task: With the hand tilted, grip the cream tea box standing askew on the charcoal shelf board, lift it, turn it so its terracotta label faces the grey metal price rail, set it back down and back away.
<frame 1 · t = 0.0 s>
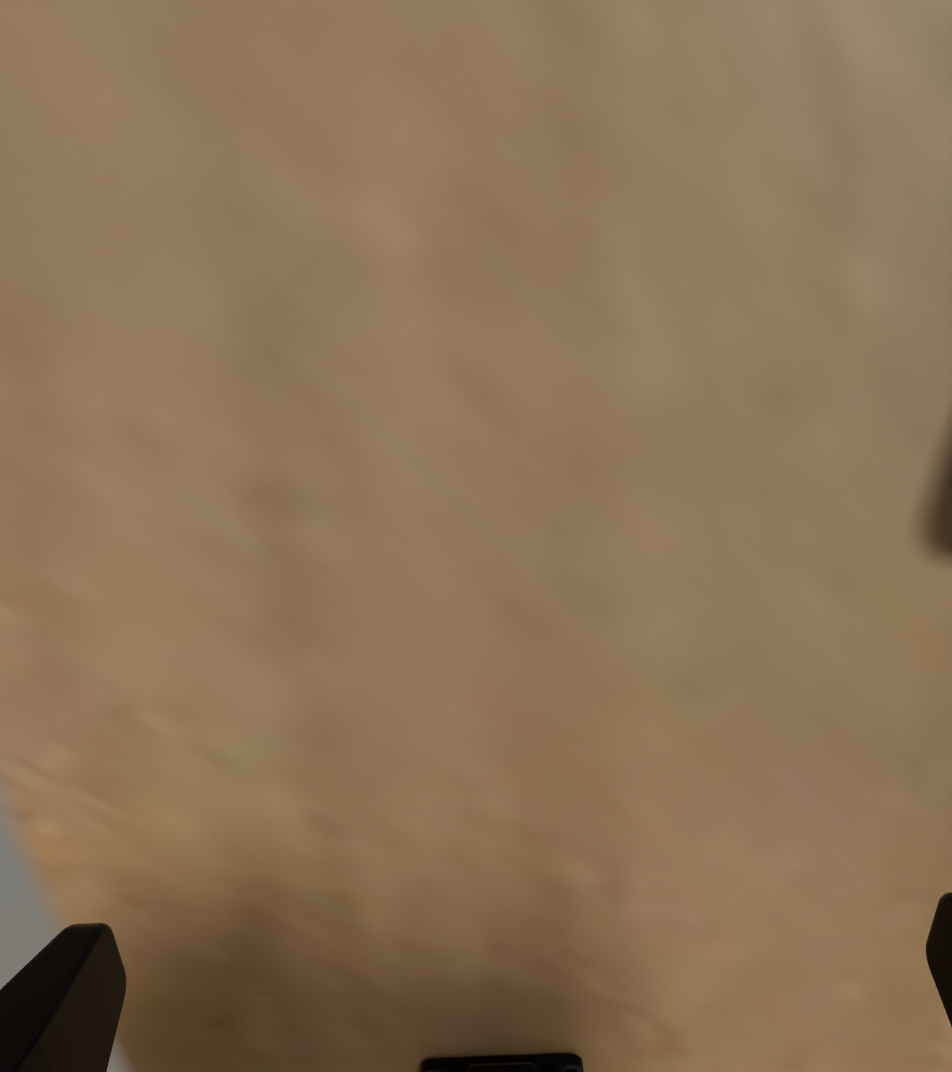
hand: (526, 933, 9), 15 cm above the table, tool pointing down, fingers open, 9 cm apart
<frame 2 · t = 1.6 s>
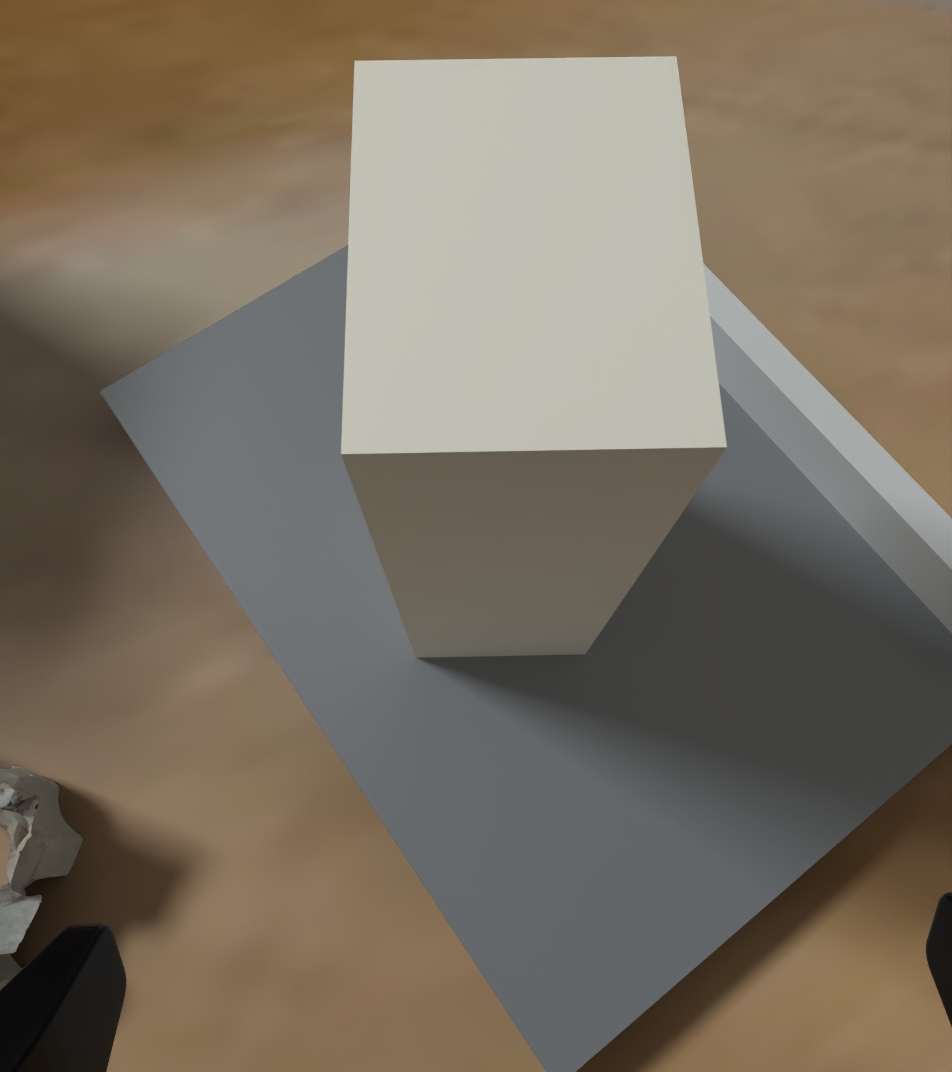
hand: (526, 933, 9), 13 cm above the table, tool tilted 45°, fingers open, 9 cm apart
shelf board: (536, 540, 25), on the table
tea box: (497, 548, 23), point 1 cm above the table, touching shelf board
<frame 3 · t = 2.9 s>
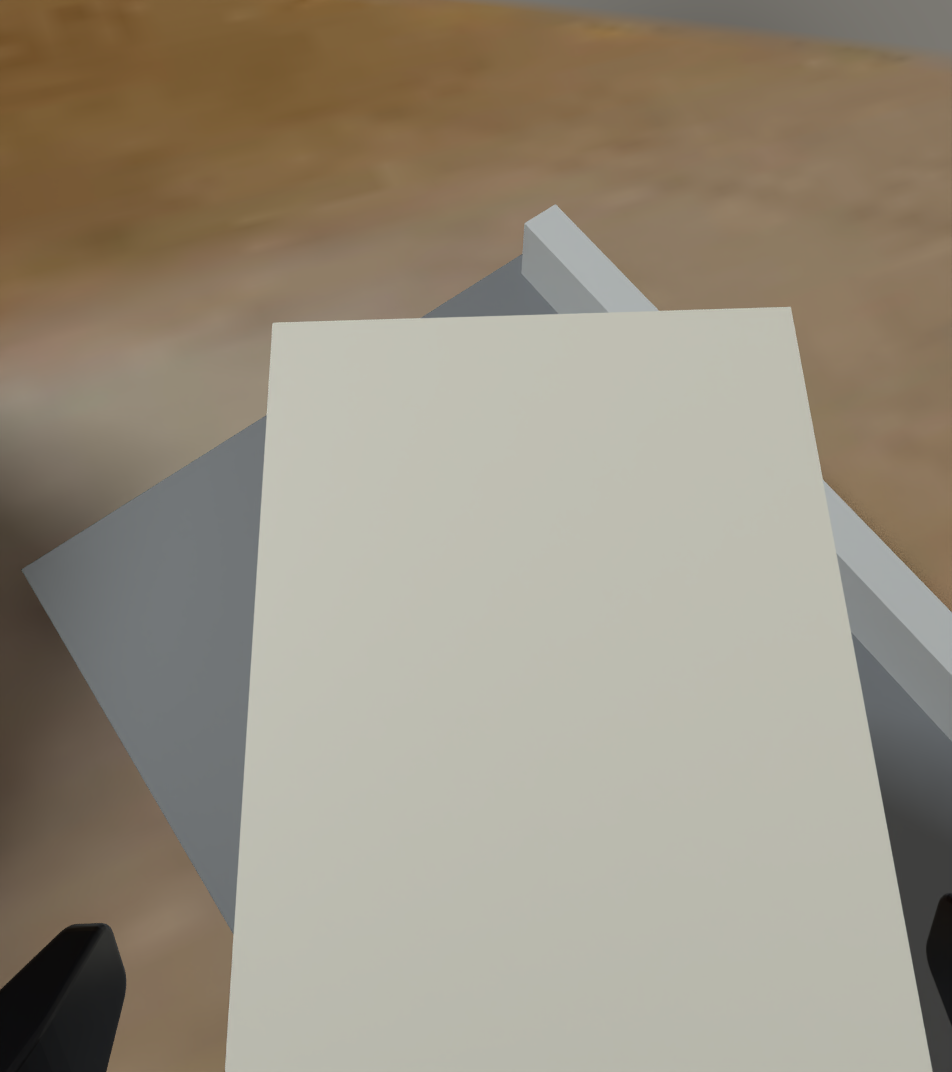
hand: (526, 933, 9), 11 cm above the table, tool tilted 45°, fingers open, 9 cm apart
shelf board: (555, 745, 20), on the table
tea box: (507, 773, 18), point 1 cm above the table, touching shelf board
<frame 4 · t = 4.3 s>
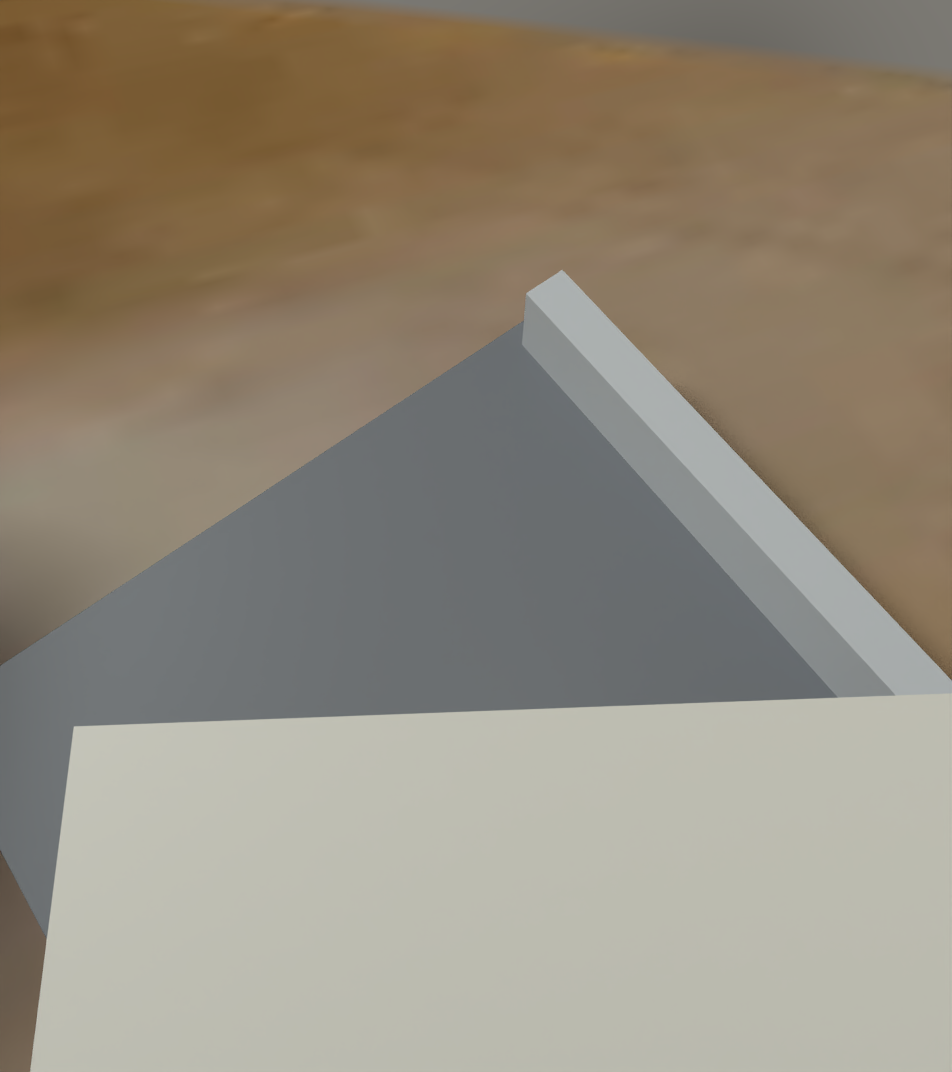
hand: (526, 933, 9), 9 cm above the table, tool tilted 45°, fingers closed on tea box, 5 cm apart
shelf board: (565, 918, 17), on the table
tea box: (510, 972, 15), point 2 cm above the table, touching gripper, shelf board
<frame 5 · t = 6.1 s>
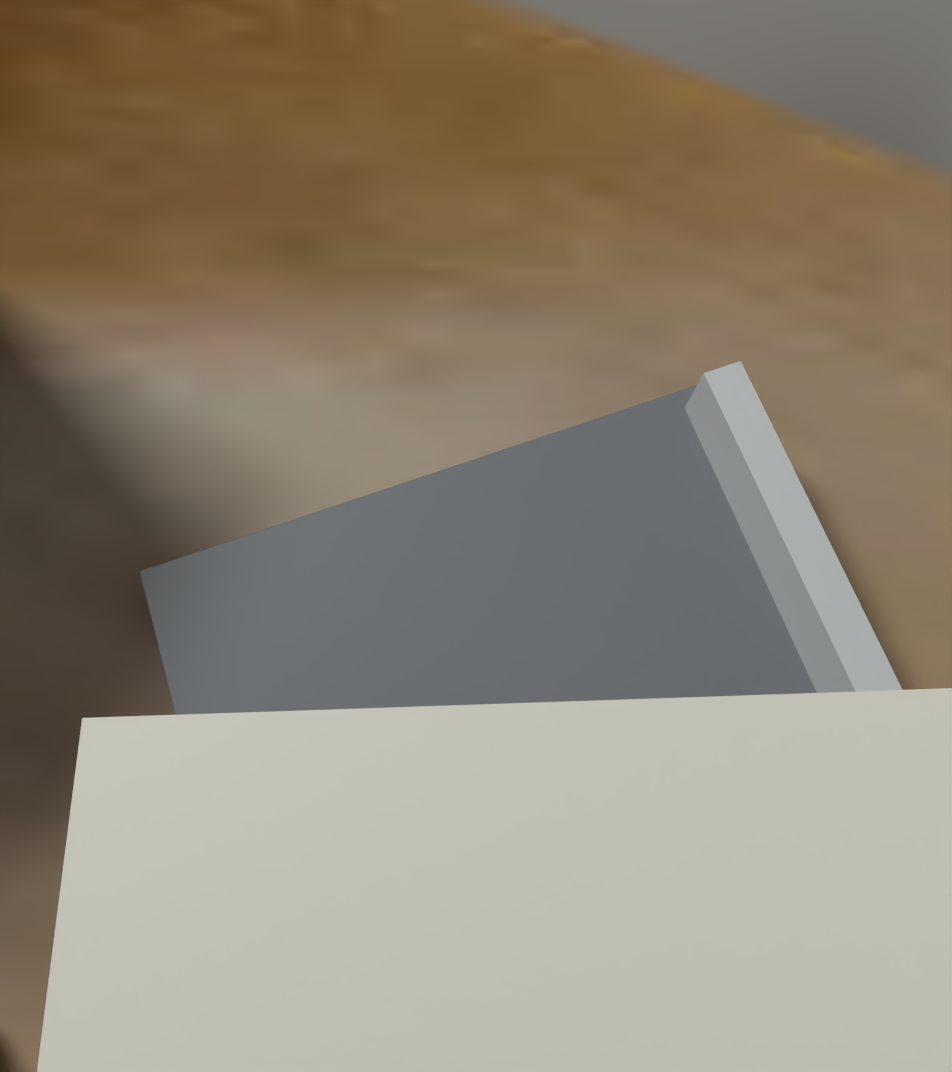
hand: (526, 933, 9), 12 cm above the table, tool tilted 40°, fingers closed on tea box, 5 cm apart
shelf board: (580, 885, 21), on the table
tea box: (507, 971, 15), point 5 cm above the table, touching gripper
when the fingers open (9 cm above the table, at t = 8.1 s): tea box stays where it is, resting on shelf board.
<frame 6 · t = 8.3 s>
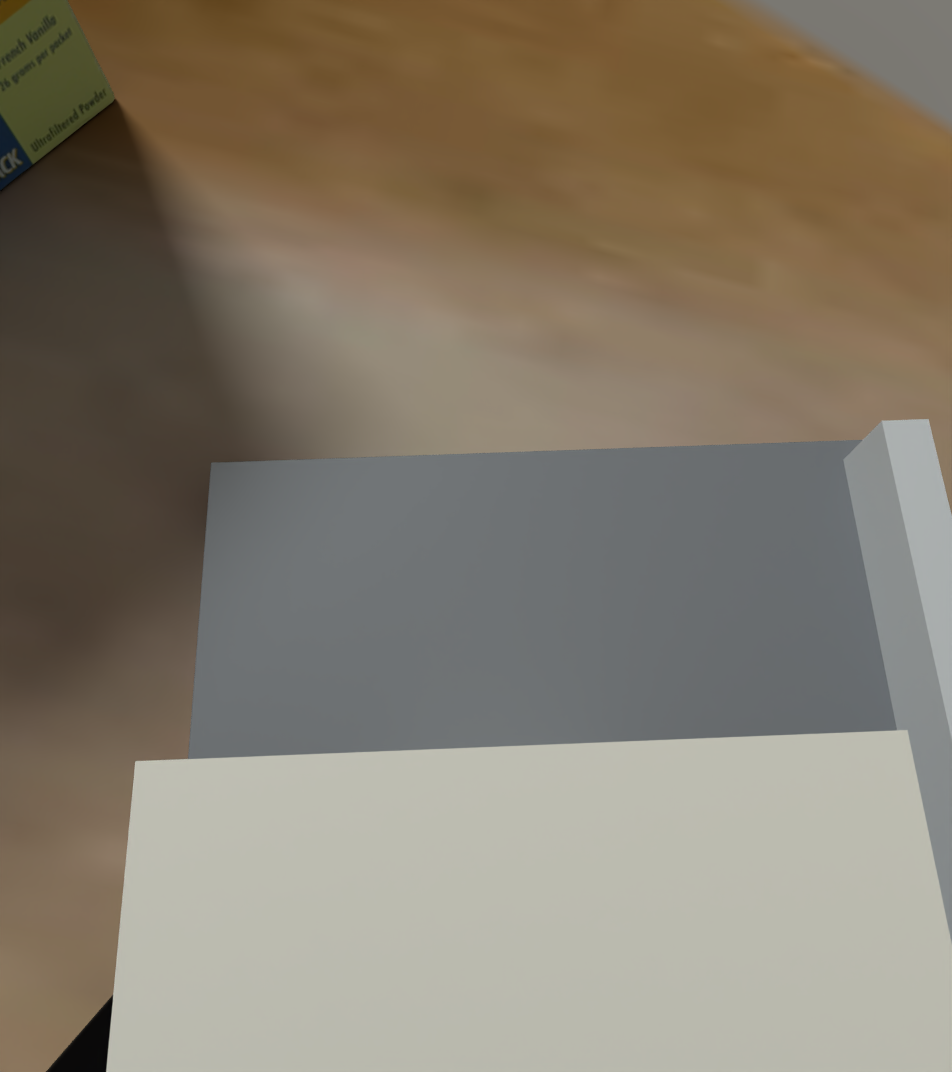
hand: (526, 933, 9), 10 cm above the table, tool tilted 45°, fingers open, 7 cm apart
shelf board: (574, 953, 17), on the table
tea box: (499, 964, 16), point 2 cm above the table, touching shelf board
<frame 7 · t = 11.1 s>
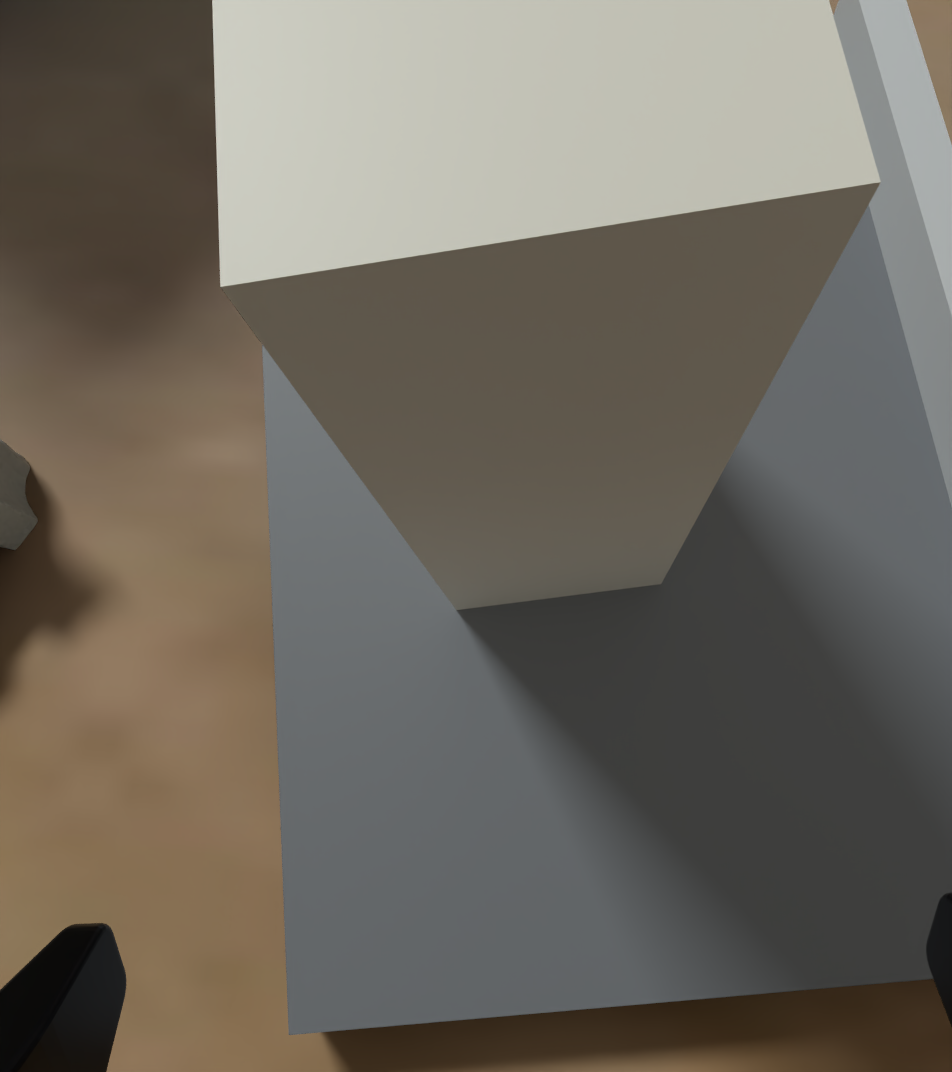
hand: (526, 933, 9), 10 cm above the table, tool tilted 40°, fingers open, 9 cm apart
shelf board: (607, 483, 20), on the table
tea box: (540, 469, 19), point 1 cm above the table, touching shelf board
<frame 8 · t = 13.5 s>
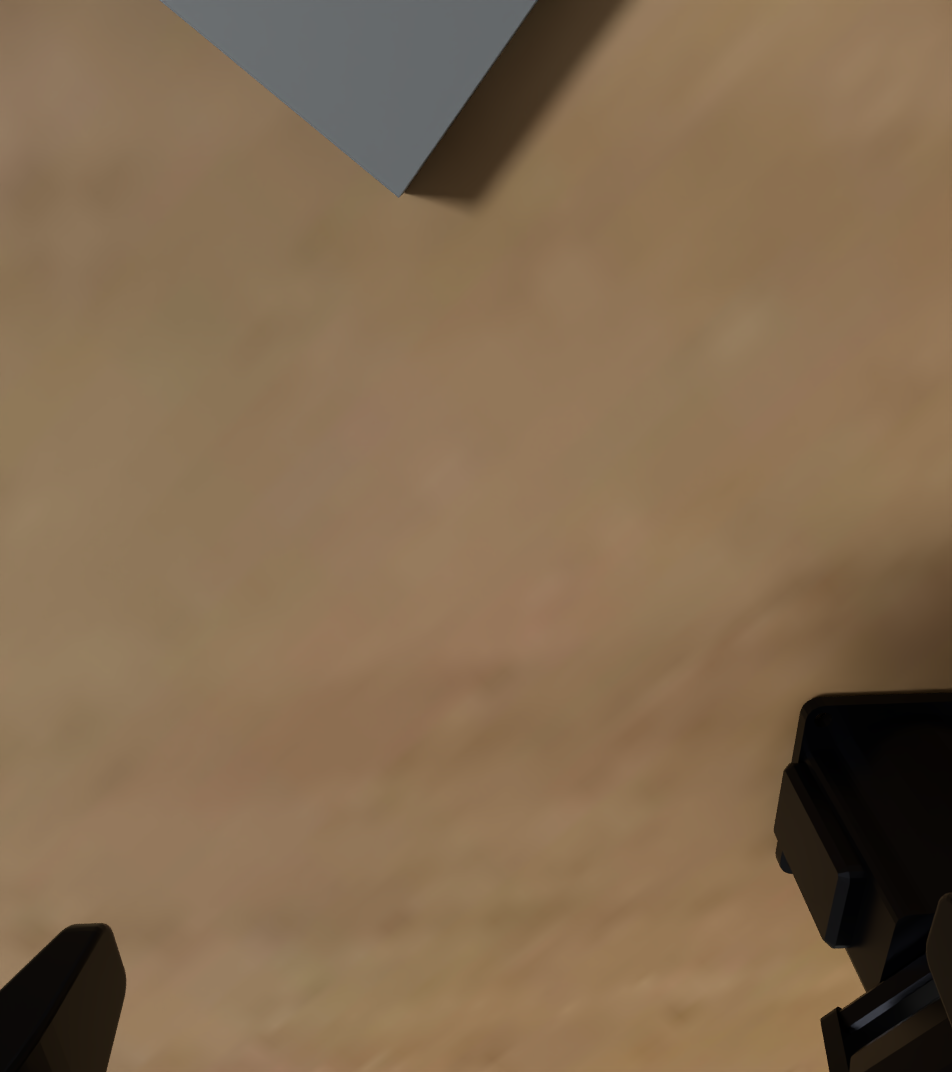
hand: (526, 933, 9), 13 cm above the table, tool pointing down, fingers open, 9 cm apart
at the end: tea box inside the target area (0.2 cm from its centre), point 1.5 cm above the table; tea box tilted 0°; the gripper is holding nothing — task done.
